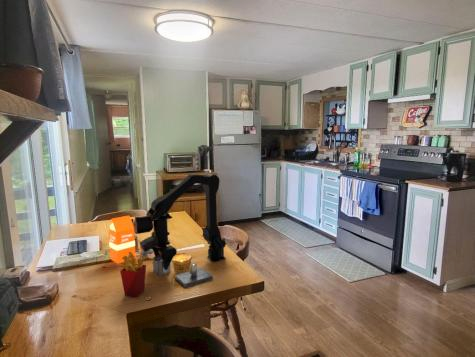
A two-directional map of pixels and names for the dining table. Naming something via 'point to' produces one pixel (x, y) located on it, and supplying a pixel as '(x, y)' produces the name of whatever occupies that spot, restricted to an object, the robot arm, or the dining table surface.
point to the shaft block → (193, 276)
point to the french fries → (133, 276)
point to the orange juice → (121, 238)
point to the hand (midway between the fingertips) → (162, 265)
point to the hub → (159, 266)
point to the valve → (142, 253)
